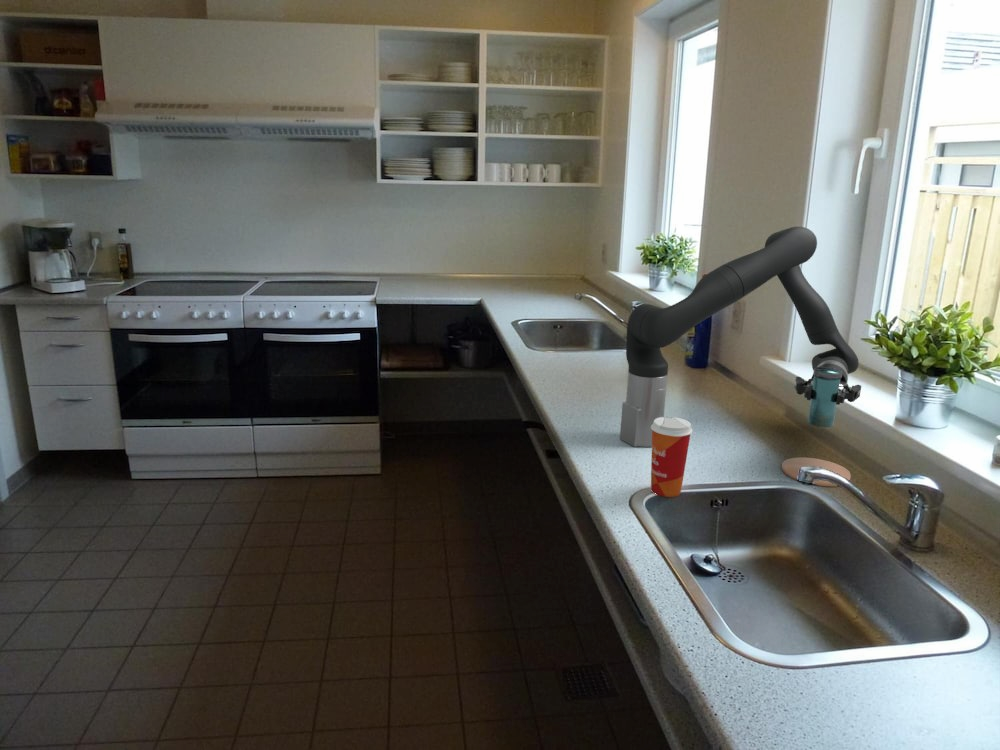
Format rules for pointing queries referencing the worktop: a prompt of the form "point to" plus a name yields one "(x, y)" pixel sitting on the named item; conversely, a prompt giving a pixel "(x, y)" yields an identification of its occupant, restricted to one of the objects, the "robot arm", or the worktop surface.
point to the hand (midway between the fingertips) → (823, 397)
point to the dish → (794, 464)
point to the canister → (824, 396)
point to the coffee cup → (669, 455)
